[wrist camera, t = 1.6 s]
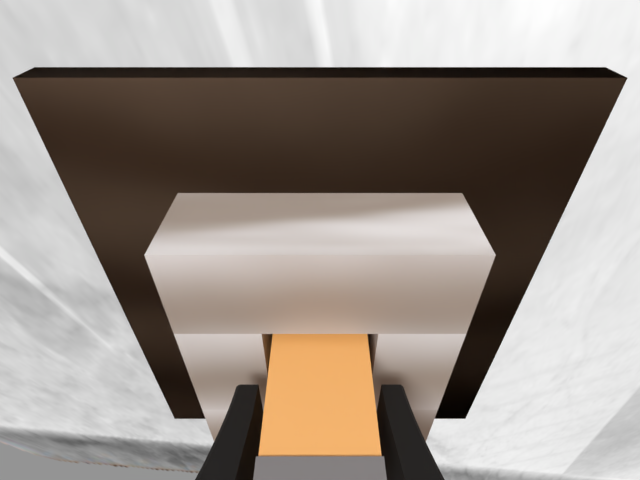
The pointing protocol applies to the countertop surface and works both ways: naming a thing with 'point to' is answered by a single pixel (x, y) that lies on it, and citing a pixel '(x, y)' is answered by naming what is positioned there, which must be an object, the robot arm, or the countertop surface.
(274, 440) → the plug
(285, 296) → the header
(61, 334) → the countertop surface
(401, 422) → the robot arm
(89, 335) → the countertop surface
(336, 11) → the countertop surface
